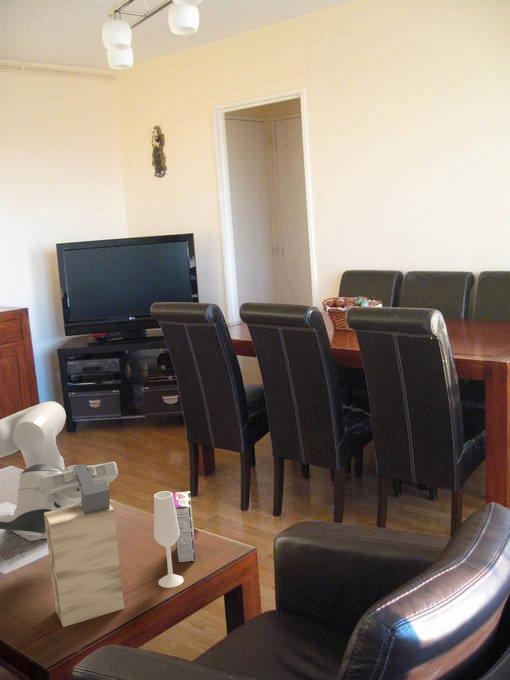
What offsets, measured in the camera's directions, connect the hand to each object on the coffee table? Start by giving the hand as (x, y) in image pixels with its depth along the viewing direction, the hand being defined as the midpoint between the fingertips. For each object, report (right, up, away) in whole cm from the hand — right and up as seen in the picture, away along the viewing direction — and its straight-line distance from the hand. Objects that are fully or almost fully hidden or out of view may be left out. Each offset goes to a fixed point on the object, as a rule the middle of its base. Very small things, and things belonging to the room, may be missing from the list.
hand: (82, 471), depth 186 cm
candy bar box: (+24, -27, +23) cm, 43 cm away
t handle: (+2, -4, -3) cm, 6 cm away
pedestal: (+3, -34, -3) cm, 34 cm away
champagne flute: (+21, -30, +8) cm, 38 cm away
